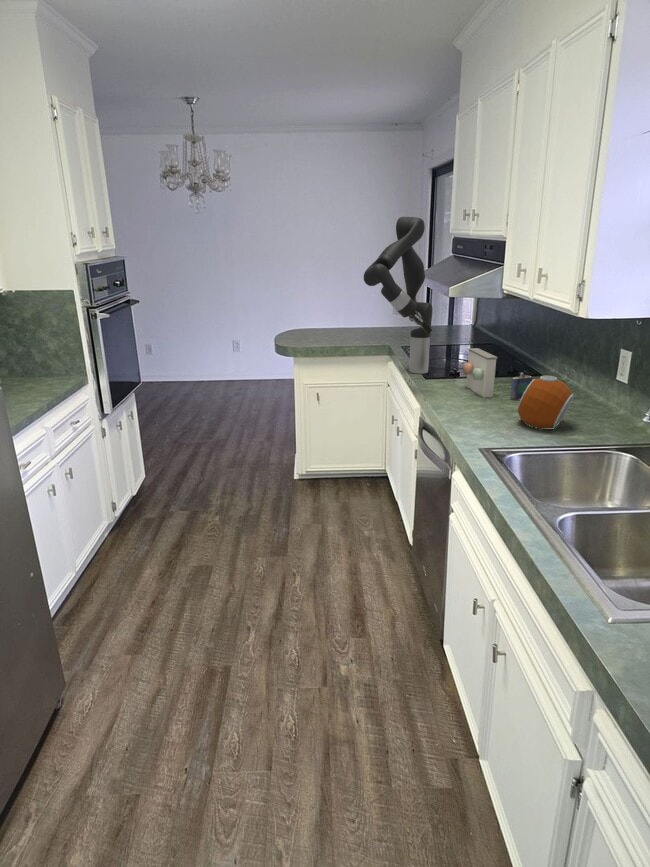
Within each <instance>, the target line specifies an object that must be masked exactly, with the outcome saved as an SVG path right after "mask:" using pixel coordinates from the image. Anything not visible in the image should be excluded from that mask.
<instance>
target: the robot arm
mask: <svg viewBox="0 0 650 867" xmlns="http://www.w3.org/2000/svg"><path fill="white" fill-rule="evenodd" d="M425 225H426V224H425V221H424V219H423V218H421V217H418V216H417V217H415V216H400V217H399V218H398V219H397V221H396V225H395V234H396V238H397V240H396V241H394V242H392V243H390V244H389V245H388V246H386V247H385V248H384V249H383V251H382V252H381V253H380V254H379V256H378V258H376V260H375V261H374V262H372V263H371V265H370V266H368V267H367V269H366V270H365V271H364V273H363V281H364V283H365V285H367V286H368V287H374V286H377V285H379V284H381V285H382V287H381V289H380V293H381V295H382V296H383V298H384V299H386V301H388V303H390V305H391V306H392V308H394V310H396V312H397V313H398V314H399V315H400V316H402V317H403V318H407V317H408V319H409V321H410V322H413V323H415V324H416V325H417V326H418V327H417V328H414V329H412V330H411V331H410V339H409V340H410V343H409V344H410V345H409V365H408V366H409V367H408V371H409V373H411V374H418V375H419V374H421V375H422V374H427V373H428V372H429V364H430V344H431V342H430V341H431V332H432V331H433V330H432V319H433V305H432V303H430V302H422V301H421V302H420V301H417V295H418V292H419V291H420V289H421V287H422V286H423V284H424V282H425V280H426V274H425V273H426V272H425V266H424V265H425V264H424V262H423V260H422V259H421V257H420V256H419V254H418V253H417V251H416V250H415V249H414V247H413V246H414V245H415V244H416V243H417V242H419V241H420V240H421V238H423V236H424V233H425ZM400 258H401V261H402V269H403V270H402V272H403V278H404V283H405V290H406V291H404V290H403V288H401V287H400V286H399V285H398V284H397V282H395V279H394V277H393V275H392V274H391V272H390V271H391V269H393V267H394V266H395V265H396V263H397V262H398V261H399V259H400Z"/></svg>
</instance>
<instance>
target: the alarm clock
mask: <svg viewBox="0 0 650 867" xmlns="http://www.w3.org/2000/svg"><path fill="white" fill-rule="evenodd" d="M573 399H574V394H573V393H572V390H571V389H570V387H568V385H566V383H565V382H563V381H561V380H559V379H558V377H557V376H555V375H541V376H540V377H539V378H534V379H533V378H532V381H531V382H530V384H529V385H528V387H527V388H526V390H525V392H524V393H523V395H522V397H521V399H519V402H518V405H517V408H516V411H517V413H518V415H519V417H520V419H521V420H522V421H523V422H524V424H527V425H526V426H528V425H530V426H532V427H531V428H533V427H537V428H555V427H556V425H557V424H558V423H559V422H560V421H561V422H562V421H563V419H564V418H565V416H566V414H567V412H568V410H569V408H570V407H571V404H572V401H573ZM530 426H529V427H530ZM537 428H536V429H537ZM556 428H557V427H556ZM556 428H555V429H556Z"/></svg>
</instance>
